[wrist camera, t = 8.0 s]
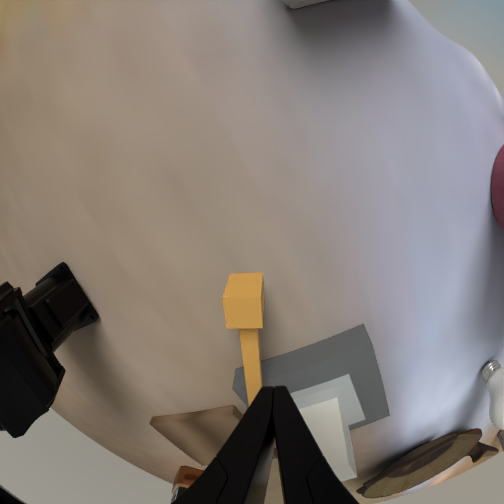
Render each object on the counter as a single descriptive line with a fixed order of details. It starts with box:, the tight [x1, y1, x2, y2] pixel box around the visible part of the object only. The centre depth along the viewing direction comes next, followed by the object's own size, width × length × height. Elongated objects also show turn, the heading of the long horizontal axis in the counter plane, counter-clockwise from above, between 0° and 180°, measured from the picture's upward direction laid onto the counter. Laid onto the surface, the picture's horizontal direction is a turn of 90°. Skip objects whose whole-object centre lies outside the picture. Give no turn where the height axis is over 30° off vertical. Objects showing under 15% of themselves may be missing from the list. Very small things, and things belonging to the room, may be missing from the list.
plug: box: [290, 374, 365, 482], centre depth 19 cm, size 7×7×10 cm
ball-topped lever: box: [222, 273, 265, 407], centre depth 18 cm, size 14×2×3 cm, turn 4°
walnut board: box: [149, 405, 278, 465], centre depth 28 cm, size 12×12×1 cm
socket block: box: [232, 324, 390, 430], centre depth 23 cm, size 12×12×2 cm
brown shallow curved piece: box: [356, 428, 499, 498], centre depth 27 cm, size 22×30×8 cm
